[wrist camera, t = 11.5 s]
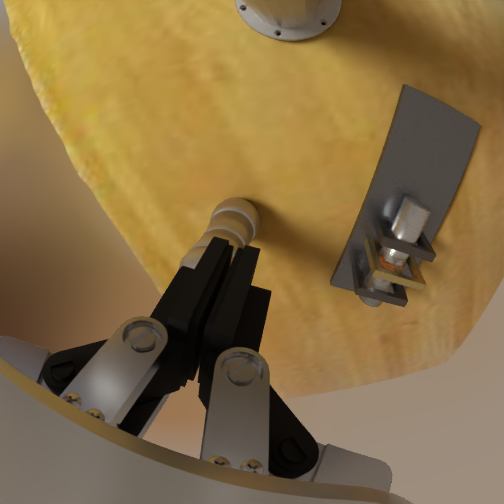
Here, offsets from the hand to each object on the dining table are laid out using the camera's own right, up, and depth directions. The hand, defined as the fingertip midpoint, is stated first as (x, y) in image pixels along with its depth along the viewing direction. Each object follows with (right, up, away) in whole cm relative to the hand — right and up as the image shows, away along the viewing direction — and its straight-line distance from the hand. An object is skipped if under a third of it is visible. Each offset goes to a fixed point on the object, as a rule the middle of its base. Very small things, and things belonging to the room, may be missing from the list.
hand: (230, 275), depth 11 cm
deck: (+22, +7, +26) cm, 35 cm away
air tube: (+20, +2, +28) cm, 35 cm away
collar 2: (+19, -2, +31) cm, 37 cm away
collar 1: (+21, +4, +26) cm, 34 cm away
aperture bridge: (+20, +1, +28) cm, 35 cm away
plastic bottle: (-1, +6, +32) cm, 32 cm away
